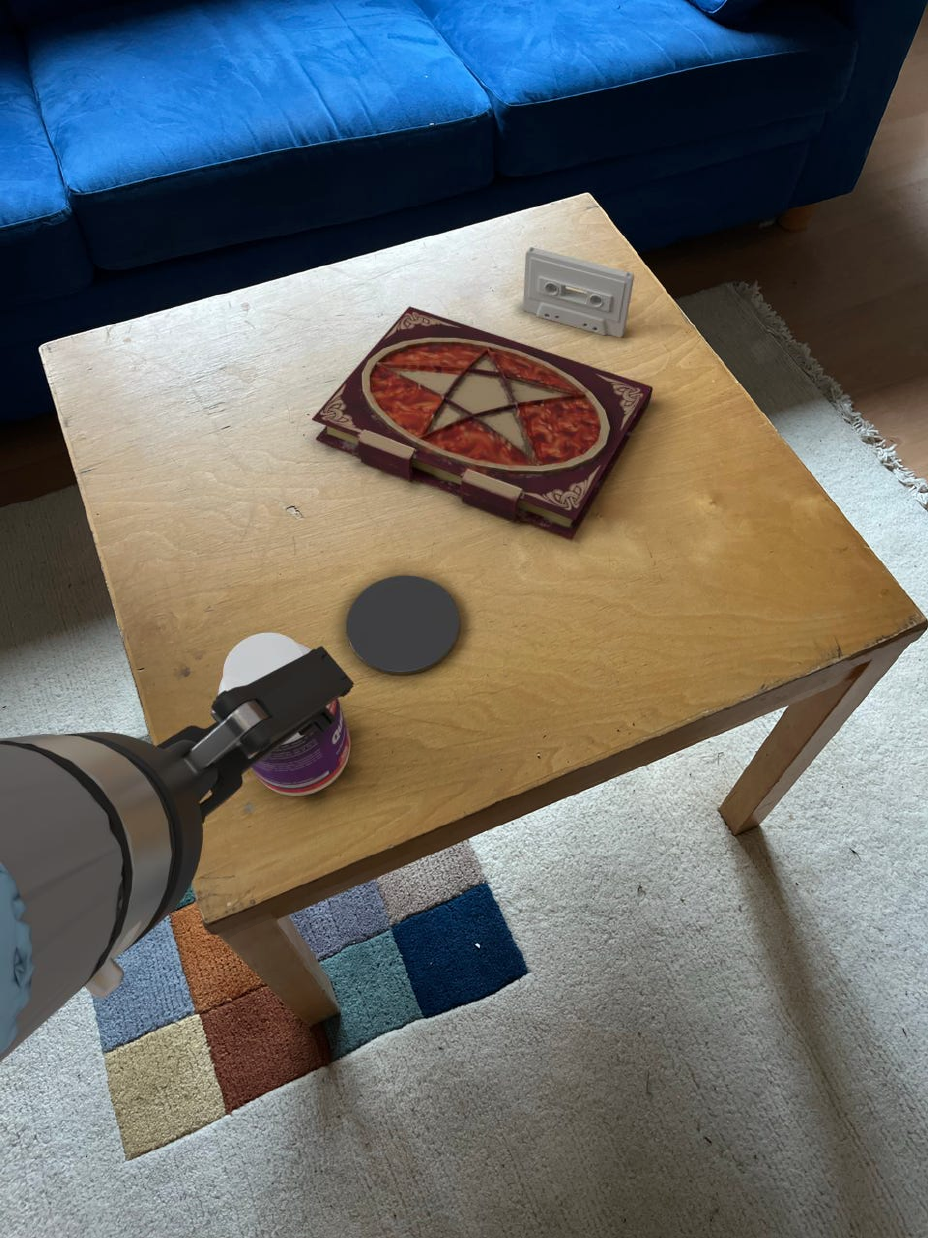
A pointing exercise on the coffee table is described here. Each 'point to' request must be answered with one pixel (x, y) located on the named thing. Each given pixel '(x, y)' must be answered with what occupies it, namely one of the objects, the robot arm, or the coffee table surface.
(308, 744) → the pill bottle
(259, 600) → the coffee table surface
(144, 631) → the coffee table surface
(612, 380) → the book
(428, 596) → the coaster
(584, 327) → the cassette
